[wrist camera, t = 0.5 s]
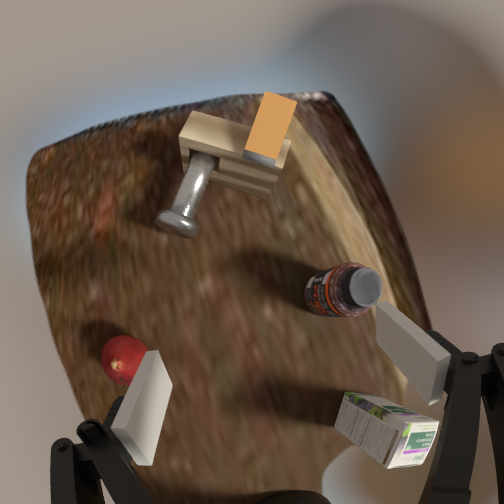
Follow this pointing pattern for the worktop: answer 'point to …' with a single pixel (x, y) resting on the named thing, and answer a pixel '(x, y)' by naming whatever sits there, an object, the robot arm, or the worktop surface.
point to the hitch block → (229, 153)
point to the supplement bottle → (343, 290)
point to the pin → (188, 197)
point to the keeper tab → (269, 129)
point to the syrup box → (386, 430)
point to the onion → (122, 358)
